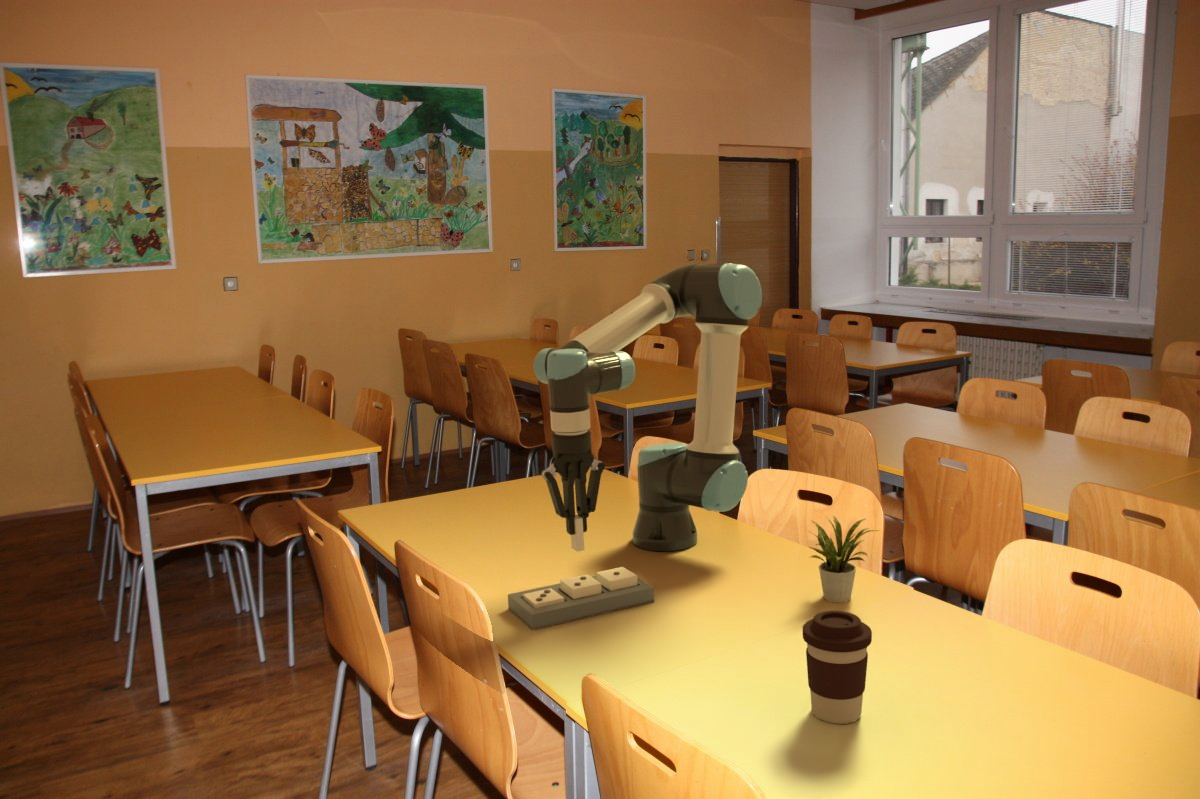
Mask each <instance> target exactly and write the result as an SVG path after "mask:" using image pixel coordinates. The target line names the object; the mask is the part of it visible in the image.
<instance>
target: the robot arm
mask: <svg viewBox="0 0 1200 799" xmlns="http://www.w3.org/2000/svg"><path fill="white" fill-rule="evenodd" d="M762 292H763V291H762V287H761V283H760V280H759V278H758V276H757V275H756V273H755V272H754V270H753V269H751V268H750V267H749V266H747V265H744V264H738V263H731V262H730V263H729V262H726V263H689V264H685V265H682V266H681V265H680V266H679V267H676V268H674V269H671V270H670V271H668V272H666V273H664V274H663V275H661V276H659V277H657V278H656V279H655V278H654V279H653V280H652V281H651V282H649V283H648V284H645V286H644V287H642V290H641V291H640V294H639V295H638V296H636V297H635V298H633V299H632V300H630V301H629V302H627V303H626V304H624V305H622V306H621V307H619V308H618V309H616V310H615V311H613V312H612V313H610V314H609V315H607V316H605V317H604V318H603V319H601V320H600V321H598V322H596V323H595V324H593V325H592V326H591V327H589V328H587V329H586V330H584V331H583V332H581V333H580V334H578V335H576V336H575V337H574V338H572V339H570V340H569V341H568V342H565V344H563V345H561V346H560V347H557V348H555V347H549V348H543V349H541V350H540V351H538V353H536V355H535V358H534V360H533V365H532V366H533V372H534V375H535V377H536V379H537V380H538V381H539V382H541V383H542V384H545V385H547V387H548V398H549V413H550V414H549V415H550V429H551V430H552V431H553V432H552V433H551V446H552V447H551V448H552V450H551V451H552V458H551V461H550V463H551V464H550V465H549V466H548V467H547V468H546V469H542V470H541V471H540V475H541V476H542V477H543V480H545V482H546V485H547V488H548V489H547V490H548V491H549V494H550V499H551V502H552V504H553V507H554V511H555V513H556V515H557V516H559V517H560V518H563V519H565V529H566V530H565V531H566V533H567V534H568V535H570V540H571V542H570V544H571V549H573V550H574V551H576V552H582V551H585V538H584V537H585V535H584V533H586V532H588V521H587V520H588V519H587V518H589V517H590V513H594V512H595V511H596V508H597V502H598V497H599V496H598V495H599V490H600V484H601V478H602V473H603V472H604V471H605V468H606V463H605V462H603V461H601V460H598V459H595V456H594V454H593V452H592V446H593V444H592V432H591V431H590V430H589V429H590V428H591V427H592V426H591V413H590V412H591V410H590V409H591V408H590V397H591V396H595V395H599V394H605V393H609V392H614V391H615V392H616V391H620V390H622V389H625V388H627V387H629V386H630V385H632V384H633V382H634V380H635V379H636V378H635V377H636V365H635V362H634V360H633V358H632V357H631V355H630V354H628V352H625V351H622V350H623V349H624V348H625V347H626V346H628V345H629V344H631V343H632V342H634V341H635V340H636V339H638V338H639V337H641V336H643V335H644V334H645V333H647V332H648V331H649V330H652V329H653V328H654V327H656V326H658V325H659V324H667V323H669V322H671V321H672V320H674V319H676V318H680V317H687V316H691V317H692V316H694V317H695V321H694V324H695V326H696V327H697V328H698V329H699V331H700V333H701V335H700V346H699V348H700V349H699V363H698V372H697V373H698V374H697V388H696V398H695V399H696V403H695V416H694V426H693V427H694V430H693V439H692V441H691V442H690V443H688V444H687V443H684V442H666V443H664V442H663V443H659V444H654V445H652V444H651V445H649V446H645V447H643V448H642V449H640V450H639V452H638V453H637V455H638V456H637V465H636V467H637V481H638V482H637V486H638V487H637V488H638V503H639V504H638V506H639V509H638V513H637V516H636V520H635V524H634V526H633V530H632V543H633V545H634V546H636V547H638V548H640V549H642V550H647V551H653V552H672V551H673V552H675V551H681V550H685V549H689V548H691V547H693V546H694V545H696V544H697V543H698V531H697V530H698V529H697V528H696V525H695V522H694V519H693V516H692V514H691V510H690V506H692V507H696V508H698V509H703V510H706V511H708V512H711V511H712V512H713V511H714V512H721V513H722V512H723V513H725V512H728V511H731V510H733V508H735V507H736V506H738V505H739V502H741V500H742V498H743V497H744V495H745V493H746V490H747V486H748V480H749V474H748V470H746V469H747V467H746V466H745V464H744V463H742V461H739V452H740V451H739V450H738V448H737V447H736V446H735V445H734V442H733V439H734V428H735V426H734V425H735V414H736V412H735V411H736V399H737V388H738V376H739V375H738V373H739V362H740V360H739V358H740V349H741V348H740V347H741V337H742V336H741V335H742V334H743V333H744V332H745V331H747V329H749V323H750V322H749V321H750V319H752V318H754V317H755V316H756V315H757V314H758V312H759V310H760V309H761V306H762V302H763V301H762V299H763V295H762V294H763V293H762ZM589 470H590V472H589V477H588V480H587V474H588V471H589ZM556 472H557V474H559V476H560V477H561V478H560V479H561V480H560V481H561V482H562V493H563V494H561V492H560V491H561V490H560V488H559V484H558V481H557V480H556V477H557V474H556ZM587 481H588V483H587ZM586 484H587V485H586ZM562 495H563V498H562ZM575 505H576V506H575ZM576 513H577V514H576Z"/></svg>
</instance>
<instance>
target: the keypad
mask: <svg viewBox="0 0 1200 799" xmlns="http://www.w3.org/2000/svg"><path fill="white" fill-rule="evenodd" d="M591 577H592V578H594V579H595V580H597V575H592V576H591ZM654 587H655V586H654ZM654 587H653V586H652V585H651V584H649V583H648V582H646V581H644V580H642V579H641V578H639V577H638V576H637V585H636V586H631V587H627V588H622V589H618V590H613V591H610V590H608V589H607V588H605V587H604V586H602V585H601V593H600V594H595V595H591V596H586V597H582V598H577V599H573V598H571V597H570V596H569V595H567V594H566V593H565V592H563V591H562V590H561V587H560V582H559V583H556V584H550V585H547V586H545V585H544V586H540V587H537V588H532V589H526V590H522V591H517V592H512V593H508V594H507V602H508V604H507V606H508V608H507V609H508V610H509V611H510V612H511V613H512V614H514V615H515V616H516V617H517V618H518V619H519V620H521V621H522V622H523V623H524V624H525V625H526V626H527V627H528V628H530V630H531V631H535V630H539V629H543V628H548V627H552V626H556V625H561V624H565V623H569V622H573V621H577V620H582V619H586V618H590V617H595V616H599V615H604V614H607V613H608V614H609V613H612V612H616V611H620V610H621V611H622V610H625V609H629V608H634V607H637V606H641V605H646V604H651V603H654V602H655V593H654V592H655V588H654ZM550 588H552V589H553V590H554V591H556V592H557V593H558V594H560V595H561V596H562V597H564V602H562V603H557V604H553V605H548V606H544V607H539V608H535V609H534V608H533V607H531V606H530V605H529V604H528V603H526V602H525V601H524V600H523V594H526V593H531V592H535V591H540V590H545V589H550Z"/></svg>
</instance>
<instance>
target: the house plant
mask: <svg viewBox="0 0 1200 799" xmlns="http://www.w3.org/2000/svg"><path fill="white" fill-rule="evenodd" d="M825 518H826V519H827V521H828V522H829V523H830V524H831V526H832V530H833V532H834V536H835V540H836V546H835V544H834V541H833V539H832V537H829V536H828V533H827V532H826V531H825V529H824V528H823V527H822V526H820V525H819V524H818V523H817V522H815V521H813V520H811V522H812V523H813V524H814V526H815V527H816V528H817V532H818V533H817V535H816V534H814V533H813V532H811V531H809V530H806V532H808V533H810V534H813V535H814V536H815V537H816V538H817V541H818V543H816V544H815V546H817V545H818V546H820V547H821V549H819V548H816V547H813V546H812V547H811V546H808V548H809V549H811V550H814V551H815V552H817V553H818V554H820V555H822V556H823V557H825V560H826V561H825V560H824V559H823V558H822V557H820V556H819V555H811V556H810V558H814V559H817V560H818V559H819V560H821V561H822V563H820V564H819V566H818V569H819V575H820V576H819V577H820V583H821V587H822V588H821V589H822V595H823V599H824V600H826V601H829V602H832V603H846V602H849V601H850V600H851V599H852V594H853V587H854V582H855V576H856V570H857V567H856V565H855V564H853V563H850V561H864V562H865V560H864V559H863V558H862V557H859V556H856V555H864V556H866V557H867V558H869V556H868V553H867V552H866V551H859V552H858V551H857V552H856V553H854V551H855V549H856V548H857V546H859V545H860V543H862V542H864V541H865V540H864V539H862V540H858V539H860V538H861V537H862V536H863V535H865V534H867V533H871V532H880V530H877V529H870V528H868V527H867V528H863V529H861V530H860V531H858V532H856V533H854V532H855V531H856V529H857V528H858V527H859V525H861V523H863V522H864V521H866V519H867V518H862V519H860V520H857V521H855V523H854V524H852V525H851V527H850V528H849V530H848V531H847V533H846V536H845V538H844V541H843V531H842V526H841V525H842V524H841V523H840V521H839V520H838V519H837V518H836V516H834V515H833V522H834V524H833V523H832V521H831V520H830V519H829V518H828V517H827V516H825ZM869 529H870V530H869ZM854 536H855V537H854ZM853 553H854V554H853ZM852 554H853V555H852Z"/></svg>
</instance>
